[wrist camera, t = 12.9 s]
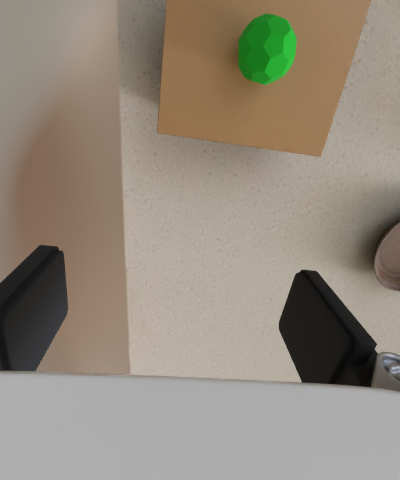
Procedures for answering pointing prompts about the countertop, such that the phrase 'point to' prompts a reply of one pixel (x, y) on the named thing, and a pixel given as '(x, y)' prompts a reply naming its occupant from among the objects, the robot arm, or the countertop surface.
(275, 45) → the polyhedron
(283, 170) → the countertop surface
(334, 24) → the board box
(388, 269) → the saucer
